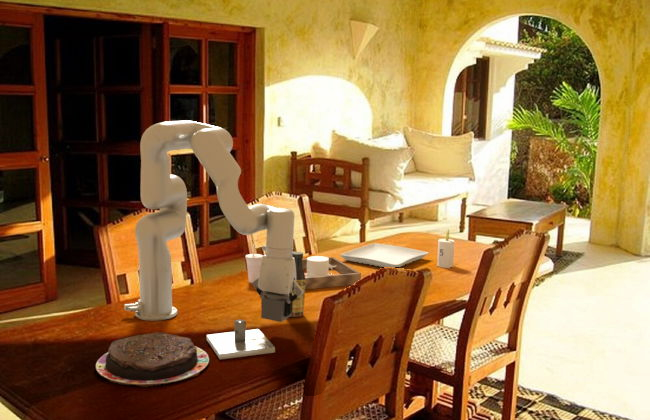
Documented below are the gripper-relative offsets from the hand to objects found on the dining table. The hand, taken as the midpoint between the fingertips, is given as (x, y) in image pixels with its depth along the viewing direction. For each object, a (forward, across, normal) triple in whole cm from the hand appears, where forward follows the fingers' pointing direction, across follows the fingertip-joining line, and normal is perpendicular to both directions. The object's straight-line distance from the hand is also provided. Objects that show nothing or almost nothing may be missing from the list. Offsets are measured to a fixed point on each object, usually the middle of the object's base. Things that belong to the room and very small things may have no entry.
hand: (276, 312), depth 201 cm
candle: (+6, +26, +100) cm, 103 cm away
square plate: (+7, +1, +98) cm, 98 cm away
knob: (+1, 0, 0) cm, 1 cm away
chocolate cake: (+8, -18, -33) cm, 38 cm away
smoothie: (+8, -31, +45) cm, 56 cm away
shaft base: (+7, -4, -13) cm, 15 cm away
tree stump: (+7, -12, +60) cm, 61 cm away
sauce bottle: (+7, -2, +18) cm, 19 cm away
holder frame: (+7, -14, +60) cm, 62 cm away
